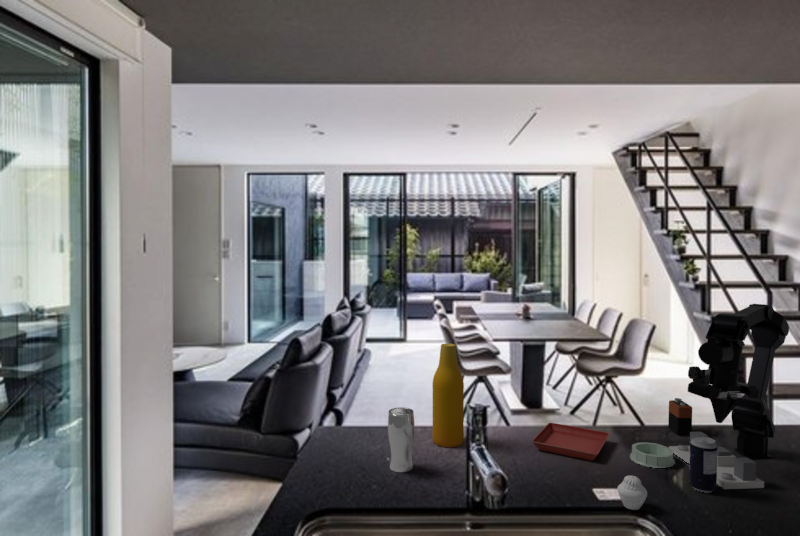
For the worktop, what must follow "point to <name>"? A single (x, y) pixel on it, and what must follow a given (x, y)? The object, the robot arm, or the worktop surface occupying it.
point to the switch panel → (727, 468)
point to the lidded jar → (632, 492)
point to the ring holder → (652, 455)
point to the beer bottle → (448, 400)
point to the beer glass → (401, 438)
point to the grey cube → (723, 452)
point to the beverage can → (703, 464)
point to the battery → (680, 417)
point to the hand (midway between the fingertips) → (718, 422)
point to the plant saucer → (570, 441)
